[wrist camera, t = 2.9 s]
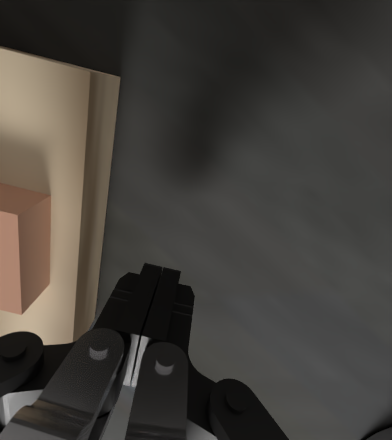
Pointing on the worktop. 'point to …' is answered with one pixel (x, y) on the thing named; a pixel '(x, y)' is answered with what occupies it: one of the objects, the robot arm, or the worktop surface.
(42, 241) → the tile
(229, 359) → the worktop surface
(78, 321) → the wooden slab
